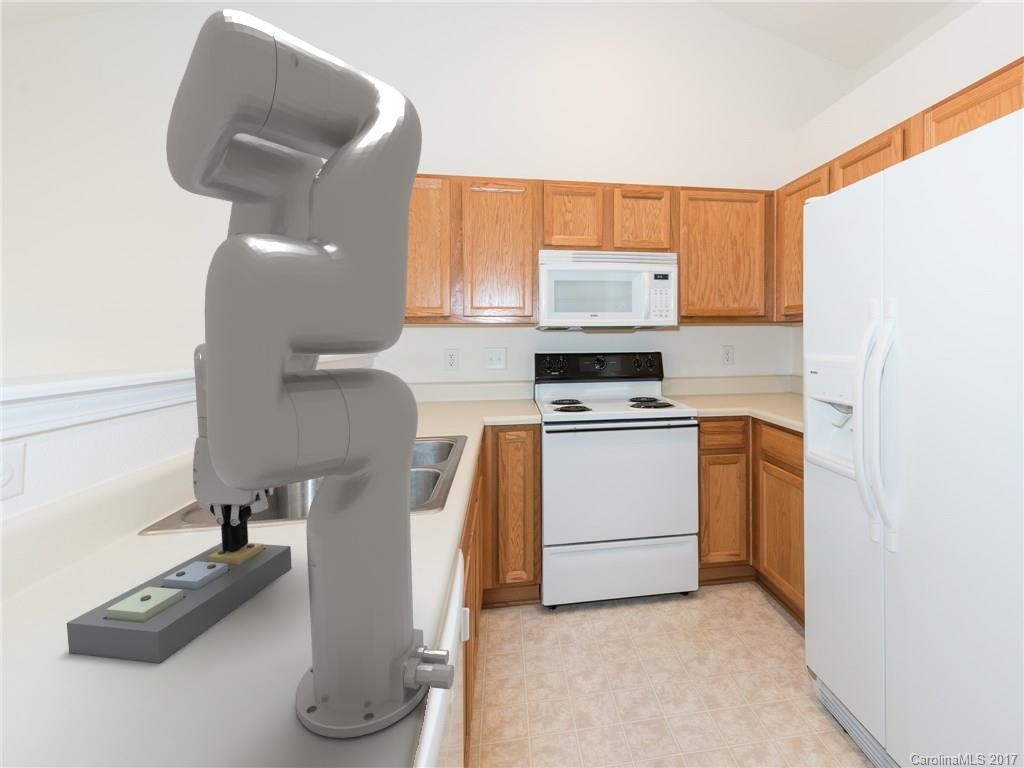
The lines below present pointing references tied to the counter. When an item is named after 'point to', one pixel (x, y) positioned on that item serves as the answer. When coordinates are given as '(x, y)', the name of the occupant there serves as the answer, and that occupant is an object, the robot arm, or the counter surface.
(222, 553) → the tile three
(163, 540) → the counter surface
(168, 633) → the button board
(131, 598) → the tile one
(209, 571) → the tile two
